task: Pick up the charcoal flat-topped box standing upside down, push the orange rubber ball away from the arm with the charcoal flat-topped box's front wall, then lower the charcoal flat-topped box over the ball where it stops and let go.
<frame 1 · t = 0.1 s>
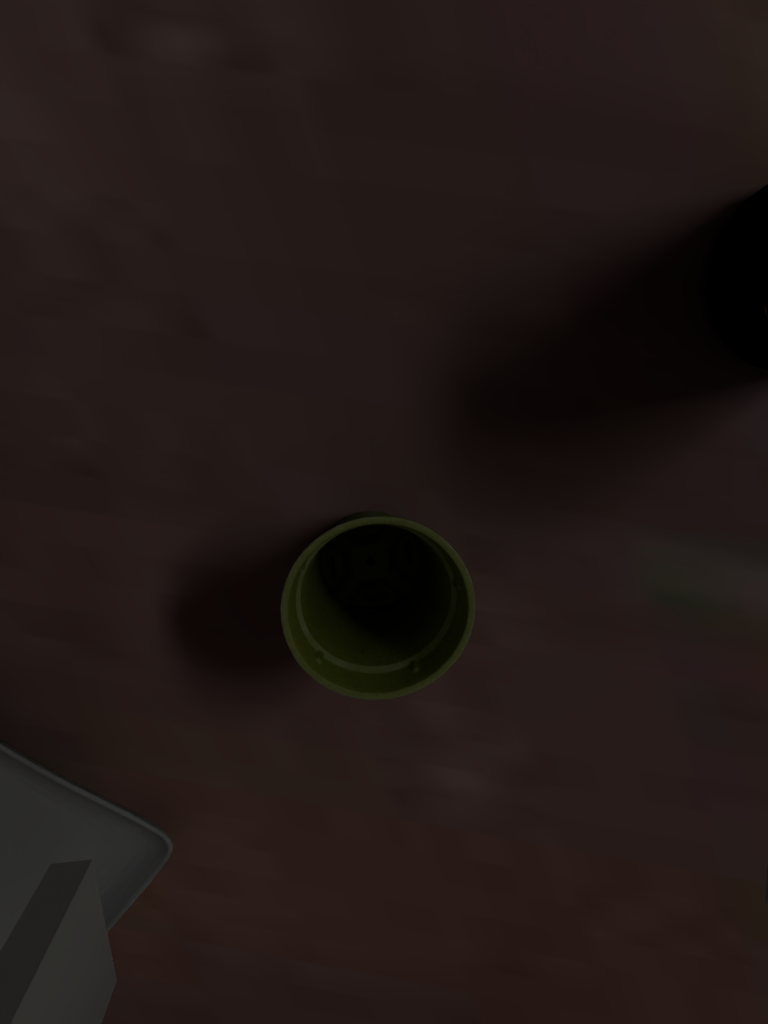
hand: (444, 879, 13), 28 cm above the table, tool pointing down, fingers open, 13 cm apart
plant pot: (370, 559, 41), on the table
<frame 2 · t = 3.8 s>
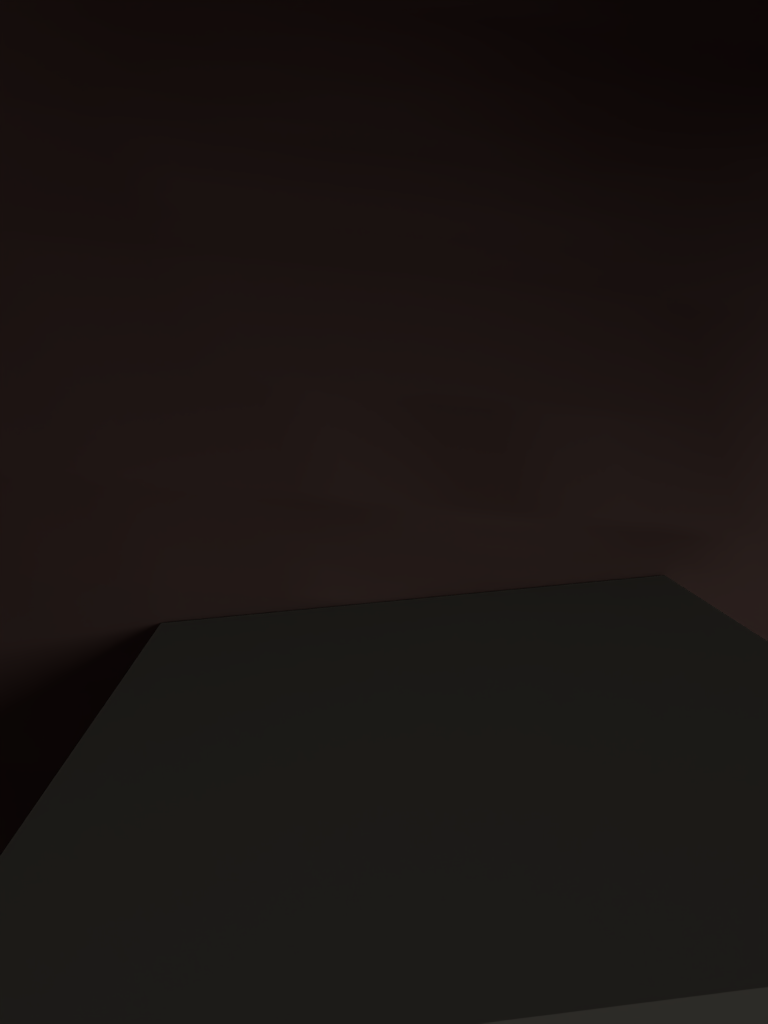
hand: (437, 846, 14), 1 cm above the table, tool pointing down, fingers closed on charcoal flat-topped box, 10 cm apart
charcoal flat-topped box: (432, 819, 14), on the table, touching gripper
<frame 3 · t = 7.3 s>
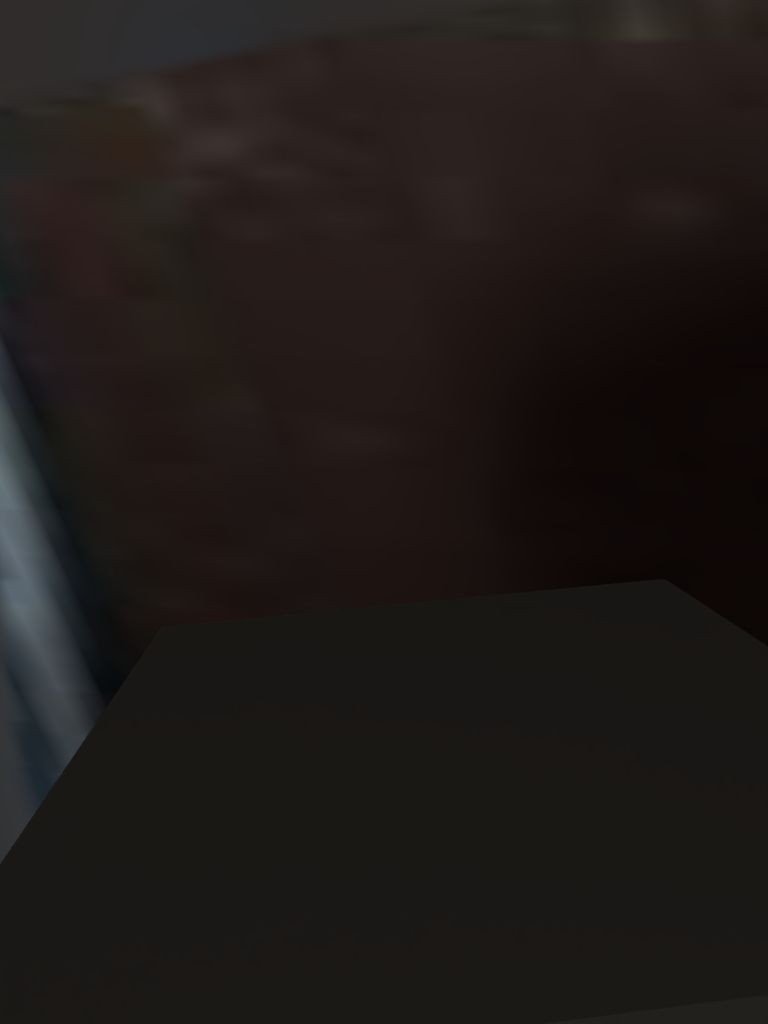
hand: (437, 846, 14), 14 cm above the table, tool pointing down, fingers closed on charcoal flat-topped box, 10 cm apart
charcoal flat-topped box: (432, 822, 15), point 13 cm above the table, touching gripper
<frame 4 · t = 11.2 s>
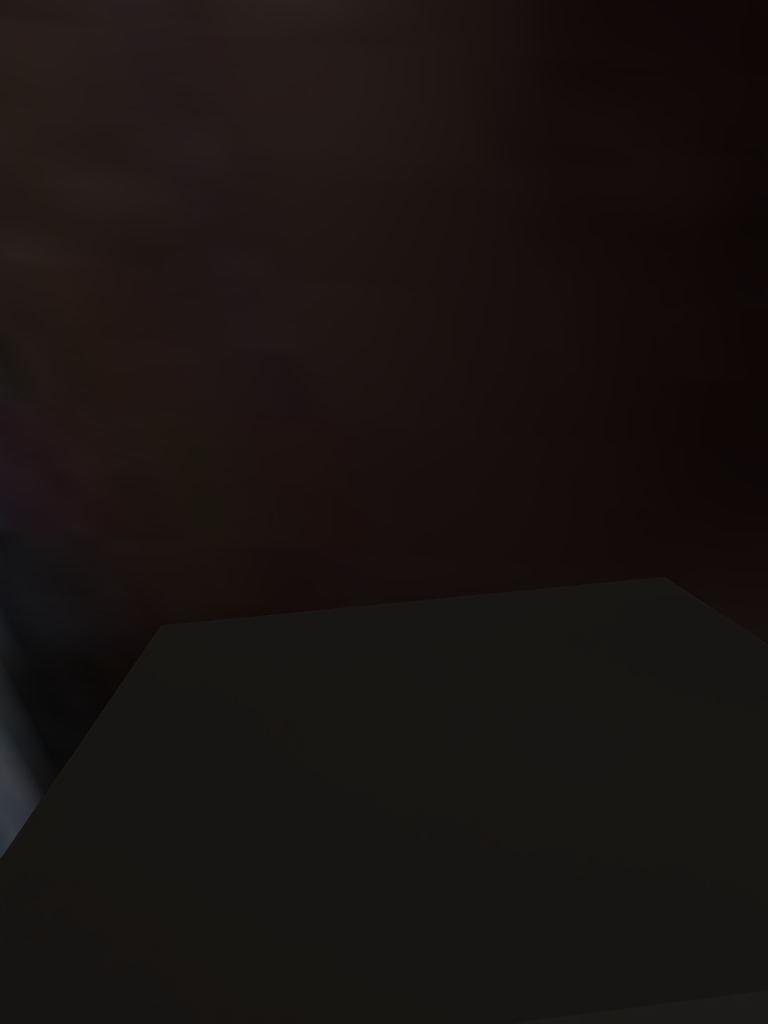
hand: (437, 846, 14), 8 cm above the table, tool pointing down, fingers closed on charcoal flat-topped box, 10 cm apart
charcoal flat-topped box: (432, 821, 15), point 7 cm above the table, touching gripper
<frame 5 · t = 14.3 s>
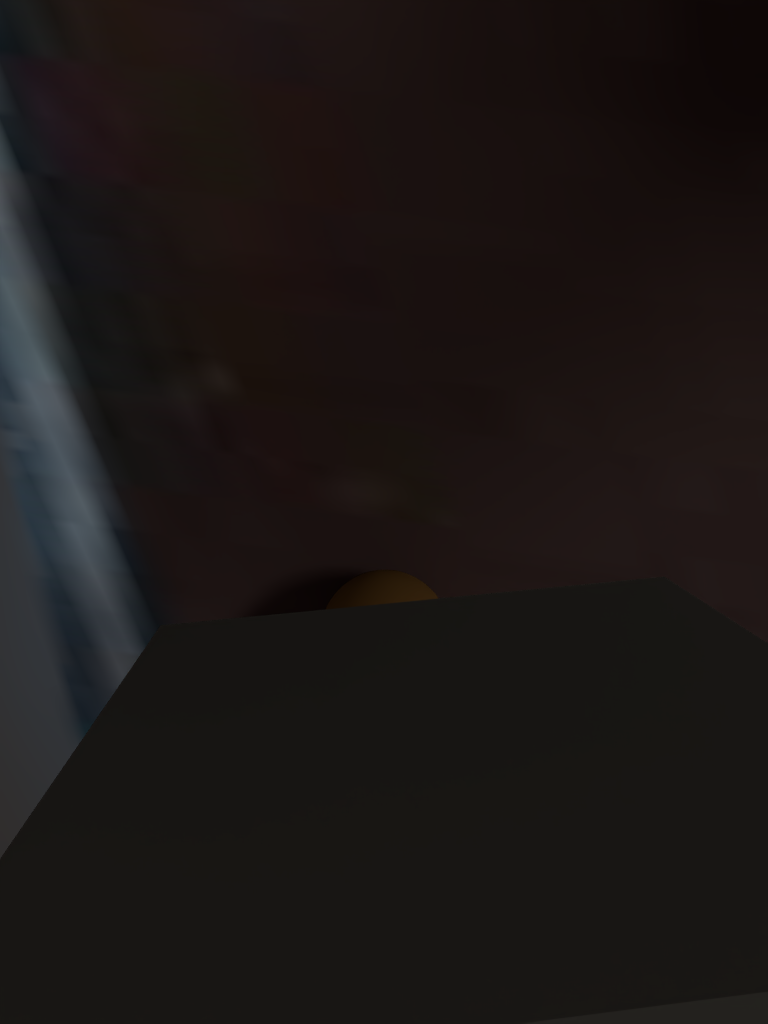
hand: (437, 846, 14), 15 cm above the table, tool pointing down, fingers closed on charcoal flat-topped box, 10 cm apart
ball: (384, 634, 26), on the table
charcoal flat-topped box: (432, 821, 14), point 14 cm above the table, touching gripper
when the fingers open (1 cm above the table, at t = 17.3 s): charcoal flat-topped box stays where it is, on the table.
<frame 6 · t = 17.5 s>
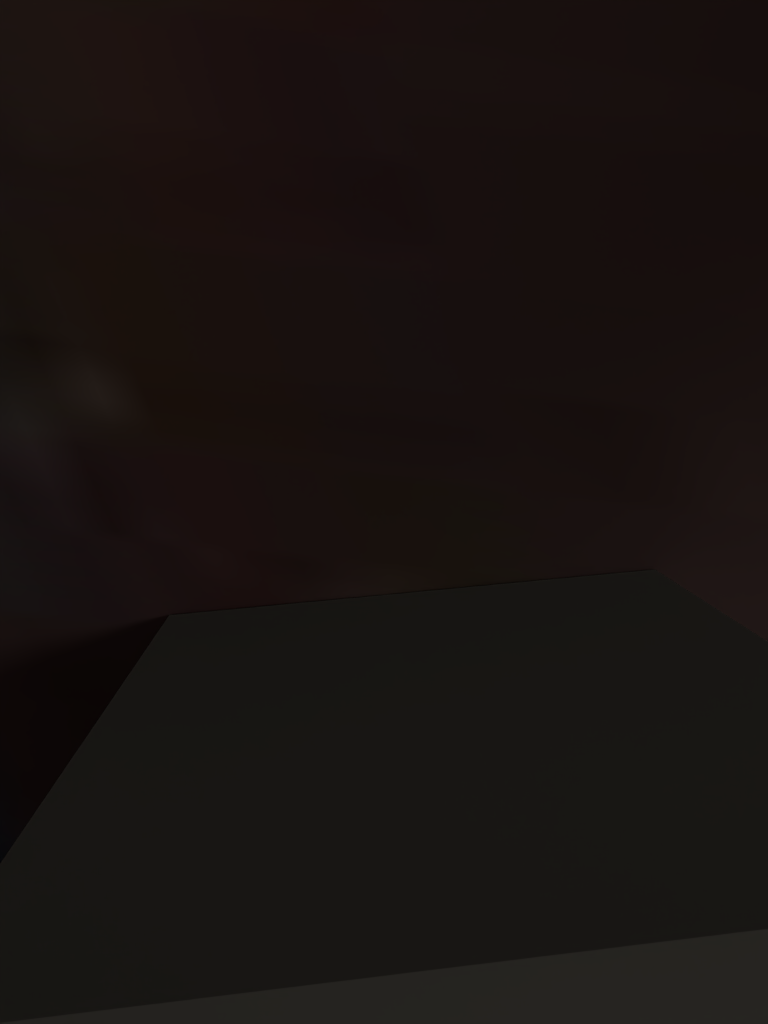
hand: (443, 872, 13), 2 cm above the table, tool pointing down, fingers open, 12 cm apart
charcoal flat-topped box: (431, 806, 15), on the table
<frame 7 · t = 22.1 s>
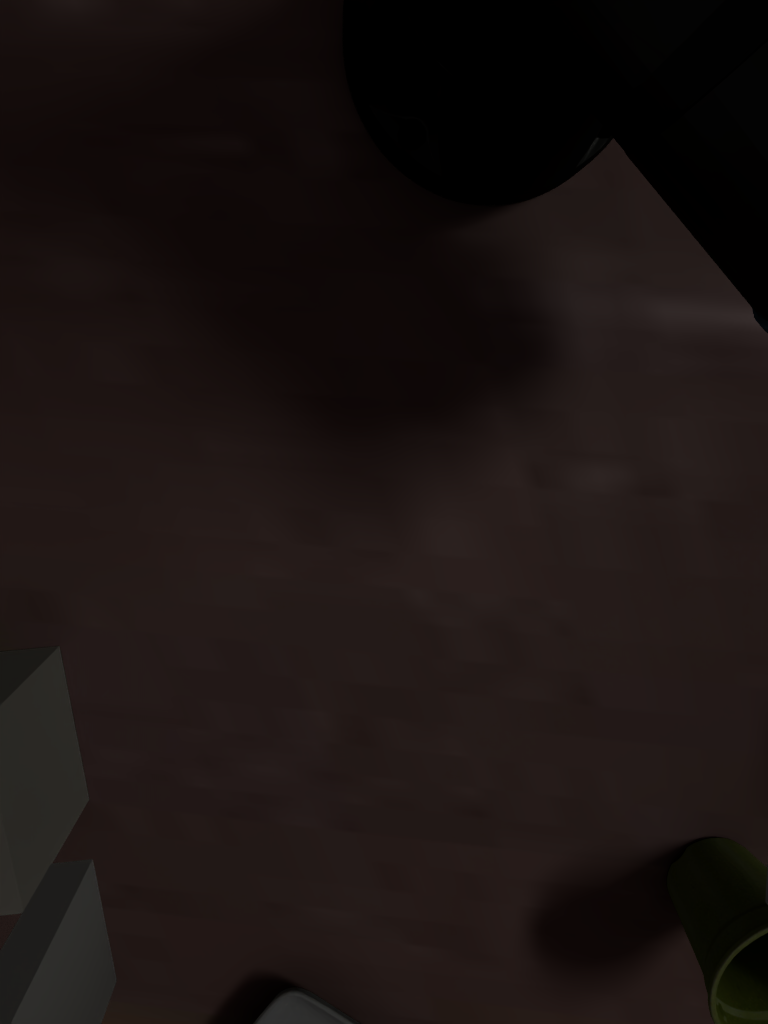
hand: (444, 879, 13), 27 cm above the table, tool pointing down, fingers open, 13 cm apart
plant pot: (707, 872, 46), on the table
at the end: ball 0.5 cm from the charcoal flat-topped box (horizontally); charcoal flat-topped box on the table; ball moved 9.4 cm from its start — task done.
